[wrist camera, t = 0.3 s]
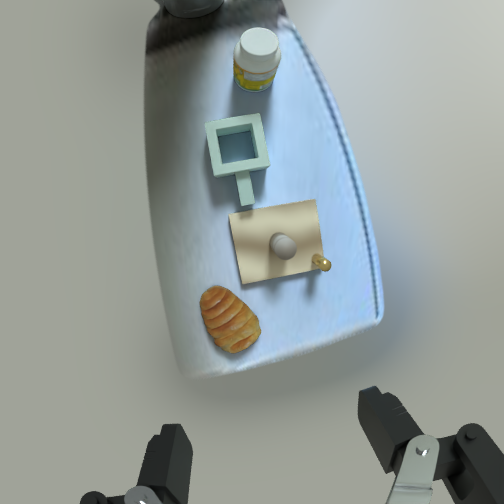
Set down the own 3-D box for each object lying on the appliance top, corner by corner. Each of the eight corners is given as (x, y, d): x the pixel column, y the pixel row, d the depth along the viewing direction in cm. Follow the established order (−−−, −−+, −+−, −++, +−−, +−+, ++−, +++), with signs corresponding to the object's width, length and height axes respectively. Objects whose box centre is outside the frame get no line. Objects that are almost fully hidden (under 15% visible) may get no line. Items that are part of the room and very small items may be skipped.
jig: (228, 214, 35) (227, 217, 29) (312, 199, 36) (328, 199, 30) (242, 281, 37) (243, 297, 31) (322, 265, 38) (337, 278, 31)
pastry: (188, 299, 38) (184, 309, 34) (229, 273, 37) (229, 282, 34) (225, 349, 39) (225, 363, 36) (265, 327, 39) (268, 340, 35)
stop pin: (311, 254, 36) (319, 261, 32) (321, 252, 36) (330, 258, 32) (312, 264, 36) (320, 272, 32) (322, 262, 36) (331, 270, 32)
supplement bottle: (271, 95, 33) (283, 65, 23) (230, 90, 32) (229, 58, 23) (275, 62, 32) (287, 27, 22) (236, 57, 31) (237, 20, 22)
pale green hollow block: (207, 130, 33) (204, 122, 29) (257, 121, 33) (259, 112, 29) (222, 208, 35) (220, 210, 31) (272, 199, 35) (276, 199, 32)
